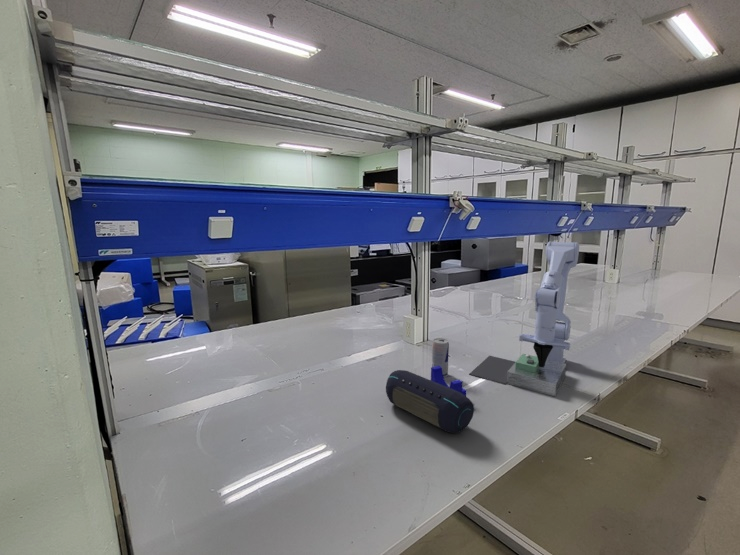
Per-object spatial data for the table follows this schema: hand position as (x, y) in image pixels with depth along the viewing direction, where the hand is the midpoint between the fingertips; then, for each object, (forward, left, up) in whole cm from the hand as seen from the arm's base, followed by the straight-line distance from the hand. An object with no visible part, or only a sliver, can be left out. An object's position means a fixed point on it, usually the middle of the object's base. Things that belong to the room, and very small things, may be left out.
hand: (541, 366), depth 113 cm
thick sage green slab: (0, -4, -1) cm, 4 cm away
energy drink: (+16, -28, -5) cm, 33 cm away
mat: (0, -14, -5) cm, 15 cm away
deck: (0, -1, -5) cm, 5 cm away
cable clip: (+25, -21, -5) cm, 33 cm away
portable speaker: (+41, -20, -5) cm, 46 cm away
